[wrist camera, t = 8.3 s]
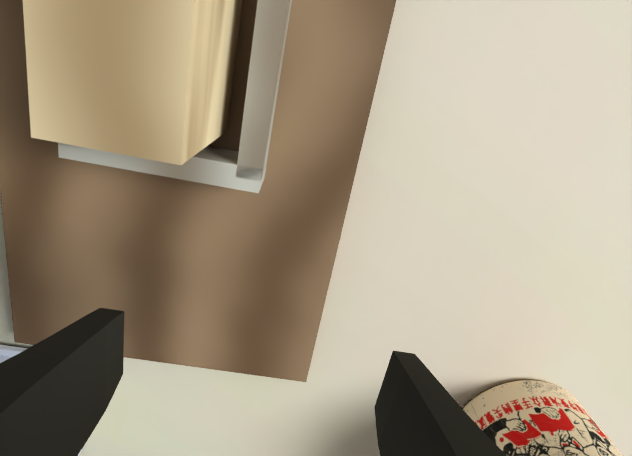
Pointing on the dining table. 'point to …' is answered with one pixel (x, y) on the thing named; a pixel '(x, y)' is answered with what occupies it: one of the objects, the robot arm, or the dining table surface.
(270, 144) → the post board
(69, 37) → the beige pillar with cap
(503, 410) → the teacup with lid
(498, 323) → the dining table surface
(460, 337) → the dining table surface
